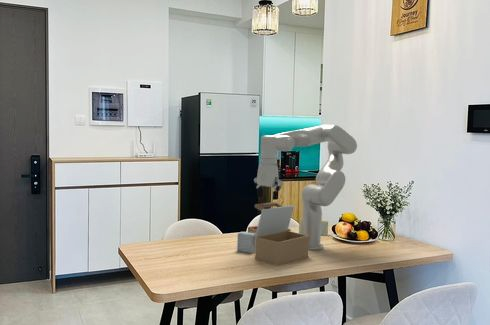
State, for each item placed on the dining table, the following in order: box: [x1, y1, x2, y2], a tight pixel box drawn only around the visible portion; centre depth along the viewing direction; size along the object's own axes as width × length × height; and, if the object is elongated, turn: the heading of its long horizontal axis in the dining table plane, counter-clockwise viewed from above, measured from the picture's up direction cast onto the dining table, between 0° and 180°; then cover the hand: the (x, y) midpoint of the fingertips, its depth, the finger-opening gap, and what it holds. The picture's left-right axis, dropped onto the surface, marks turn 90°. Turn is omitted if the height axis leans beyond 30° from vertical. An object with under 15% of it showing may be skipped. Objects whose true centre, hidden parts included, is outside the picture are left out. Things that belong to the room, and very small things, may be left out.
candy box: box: [298, 219, 329, 237], centre depth 257 cm, size 16×2×8 cm, turn 83°
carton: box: [254, 230, 310, 267], centre depth 207 cm, size 13×22×10 cm, turn 135°
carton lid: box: [254, 201, 295, 237], centre depth 212 cm, size 13×22×9 cm
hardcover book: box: [247, 225, 292, 237], centre depth 253 cm, size 12×21×4 cm, turn 110°
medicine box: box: [236, 231, 256, 254], centre depth 216 cm, size 8×4×9 cm, turn 65°
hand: (267, 198), depth 213 cm, fingers open, 9 cm apart
